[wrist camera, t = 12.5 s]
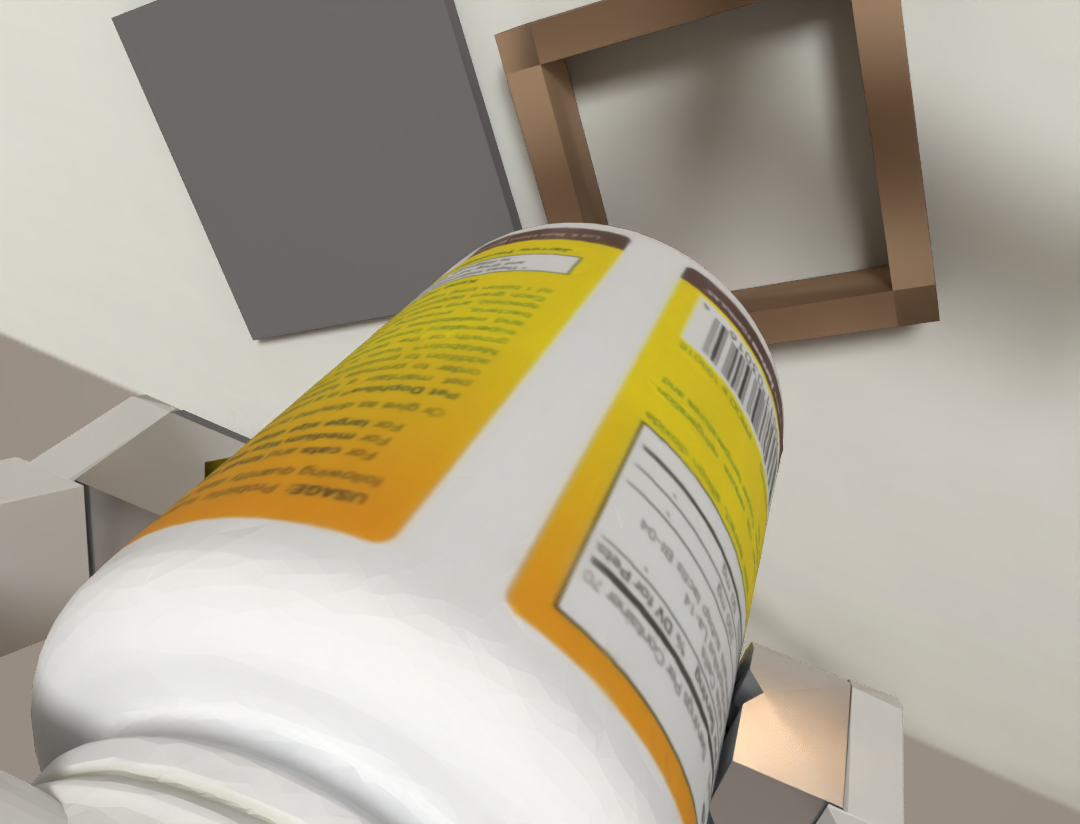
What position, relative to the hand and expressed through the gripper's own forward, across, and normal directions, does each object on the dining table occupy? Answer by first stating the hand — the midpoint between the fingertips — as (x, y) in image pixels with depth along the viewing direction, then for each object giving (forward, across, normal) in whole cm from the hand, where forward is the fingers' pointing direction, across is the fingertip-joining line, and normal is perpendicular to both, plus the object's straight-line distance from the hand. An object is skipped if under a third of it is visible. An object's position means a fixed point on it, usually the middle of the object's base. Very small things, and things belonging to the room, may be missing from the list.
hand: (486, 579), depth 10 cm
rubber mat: (+19, +12, +3) cm, 22 cm away
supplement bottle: (+5, 0, 0) cm, 5 cm away
